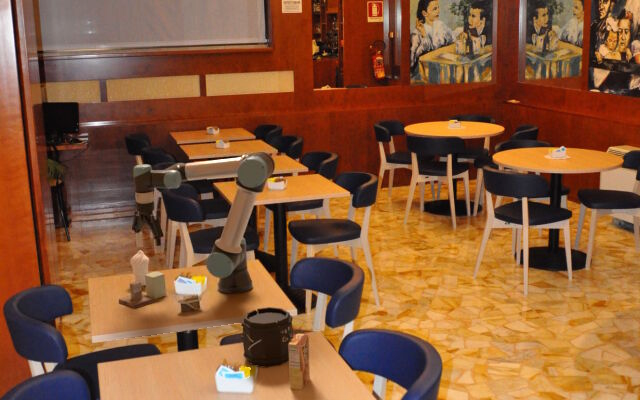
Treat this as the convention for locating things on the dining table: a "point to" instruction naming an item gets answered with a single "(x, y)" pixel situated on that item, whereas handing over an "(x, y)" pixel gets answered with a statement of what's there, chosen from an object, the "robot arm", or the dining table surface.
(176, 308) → the dining table surface
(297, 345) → the candy box
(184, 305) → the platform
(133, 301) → the post base
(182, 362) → the dining table surface
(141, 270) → the soft serve ice cream cone
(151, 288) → the sage cap
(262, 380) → the dining table surface
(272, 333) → the wooden barrel
